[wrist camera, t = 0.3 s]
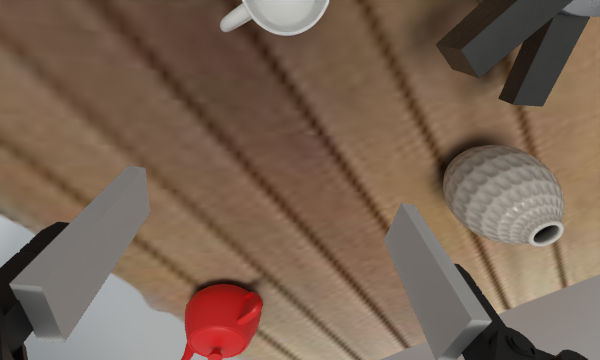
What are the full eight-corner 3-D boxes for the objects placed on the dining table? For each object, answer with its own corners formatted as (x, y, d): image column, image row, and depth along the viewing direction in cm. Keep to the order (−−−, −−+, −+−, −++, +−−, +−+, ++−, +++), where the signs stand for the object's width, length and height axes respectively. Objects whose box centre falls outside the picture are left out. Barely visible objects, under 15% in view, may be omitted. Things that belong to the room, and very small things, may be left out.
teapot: (233, 254, 54) (222, 312, 44) (289, 290, 61) (290, 348, 50) (160, 312, 62) (136, 372, 52) (216, 338, 69) (204, 396, 58)
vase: (519, 163, 47) (623, 230, 32) (453, 210, 51) (519, 286, 37) (482, 114, 42) (585, 166, 27) (412, 170, 46) (470, 240, 32)
